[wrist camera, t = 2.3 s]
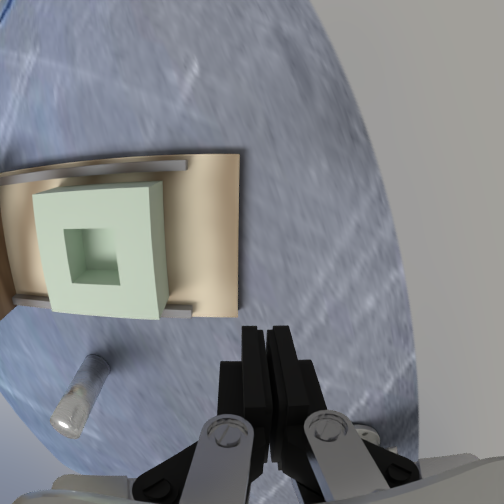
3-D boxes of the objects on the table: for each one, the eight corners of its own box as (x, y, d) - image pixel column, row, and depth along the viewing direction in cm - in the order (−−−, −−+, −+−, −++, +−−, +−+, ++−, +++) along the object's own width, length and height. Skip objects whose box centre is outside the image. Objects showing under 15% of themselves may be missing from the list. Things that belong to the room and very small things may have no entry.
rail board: (239, 154, 25) (239, 155, 19) (237, 310, 29) (237, 350, 23) (-8, 174, 23) (-47, 184, 18) (12, 297, 28) (-18, 323, 22)
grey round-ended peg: (106, 356, 30) (73, 420, 21) (112, 377, 31) (84, 441, 22) (81, 353, 30) (45, 413, 21) (88, 374, 31) (57, 434, 22)
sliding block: (162, 180, 24) (148, 187, 20) (169, 296, 27) (159, 319, 23) (57, 186, 23) (32, 194, 19) (71, 291, 26) (52, 311, 23)
